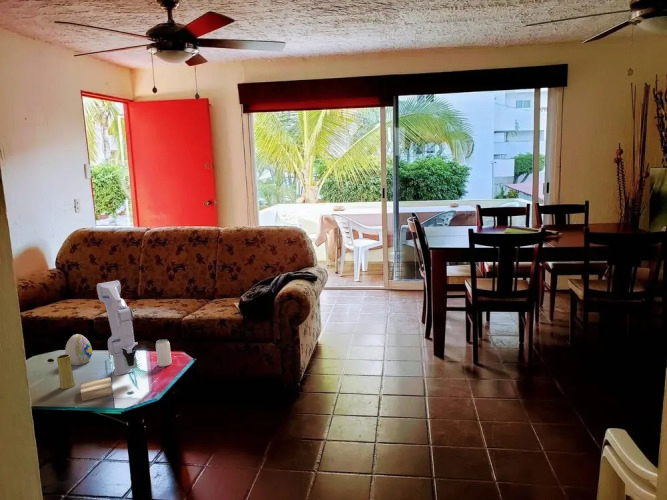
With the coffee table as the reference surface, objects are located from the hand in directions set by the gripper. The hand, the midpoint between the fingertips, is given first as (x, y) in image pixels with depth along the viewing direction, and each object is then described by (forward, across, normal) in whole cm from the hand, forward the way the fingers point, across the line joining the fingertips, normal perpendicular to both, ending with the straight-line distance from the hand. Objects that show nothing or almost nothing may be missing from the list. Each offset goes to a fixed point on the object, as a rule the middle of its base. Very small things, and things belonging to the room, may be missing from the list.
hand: (130, 363), depth 236 cm
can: (+9, +14, -16) cm, 23 cm away
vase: (+9, +12, +27) cm, 31 cm away
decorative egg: (+9, +44, +22) cm, 50 cm away
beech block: (+9, -4, +15) cm, 18 cm away
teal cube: (+2, 0, 0) cm, 2 cm away
